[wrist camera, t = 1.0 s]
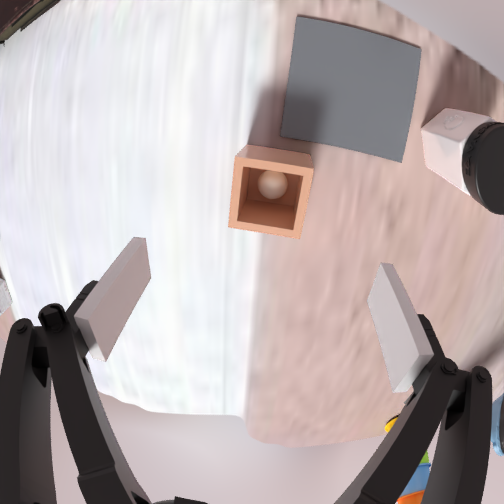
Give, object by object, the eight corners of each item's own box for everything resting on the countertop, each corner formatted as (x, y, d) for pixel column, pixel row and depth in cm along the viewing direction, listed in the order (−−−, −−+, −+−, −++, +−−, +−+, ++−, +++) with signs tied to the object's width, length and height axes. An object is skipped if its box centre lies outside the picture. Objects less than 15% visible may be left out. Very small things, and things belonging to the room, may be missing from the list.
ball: (290, 168, 31) (289, 176, 29) (285, 195, 33) (284, 205, 30) (261, 164, 32) (257, 171, 29) (257, 191, 33) (254, 200, 30)
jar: (455, 96, 24) (517, 105, 14) (485, 151, 26) (545, 180, 16) (405, 137, 28) (456, 162, 18) (440, 191, 30) (491, 235, 20)
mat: (420, 49, 22) (421, 49, 22) (400, 162, 29) (401, 162, 29) (296, 17, 23) (296, 16, 23) (280, 135, 30) (280, 136, 30)
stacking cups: (431, 410, 53) (450, 536, 23) (409, 430, 58) (420, 544, 28) (398, 411, 53) (410, 548, 24) (377, 430, 59) (382, 553, 29)
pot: (310, 154, 31) (314, 169, 25) (299, 211, 34) (299, 239, 28) (246, 144, 31) (235, 156, 25) (240, 202, 35) (228, 227, 29)
